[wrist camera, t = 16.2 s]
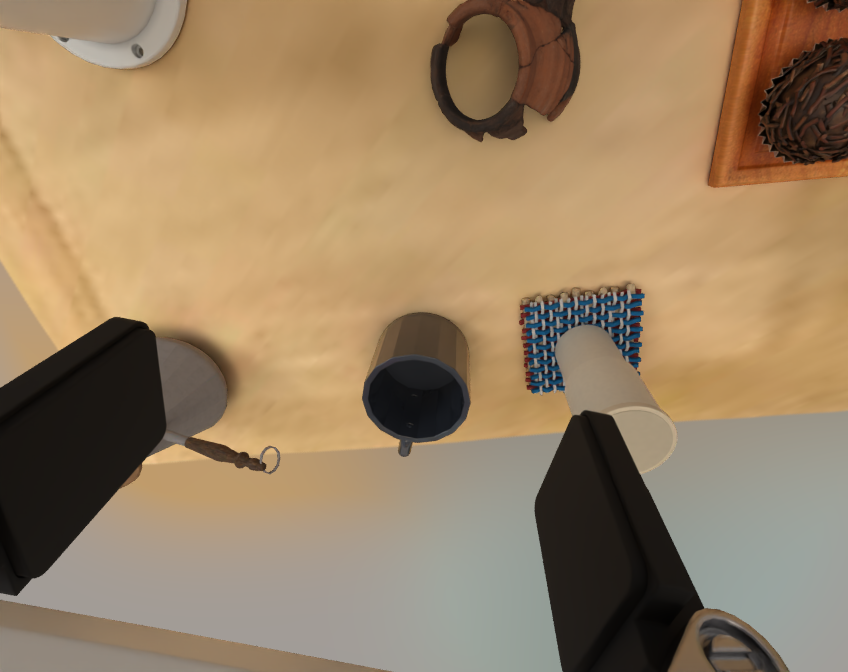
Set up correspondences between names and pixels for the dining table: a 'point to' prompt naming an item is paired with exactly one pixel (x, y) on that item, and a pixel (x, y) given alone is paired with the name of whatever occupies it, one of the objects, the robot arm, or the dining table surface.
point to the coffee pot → (194, 404)
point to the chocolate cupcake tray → (785, 95)
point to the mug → (418, 380)
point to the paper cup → (614, 394)
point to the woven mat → (550, 324)
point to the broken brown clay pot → (538, 63)
